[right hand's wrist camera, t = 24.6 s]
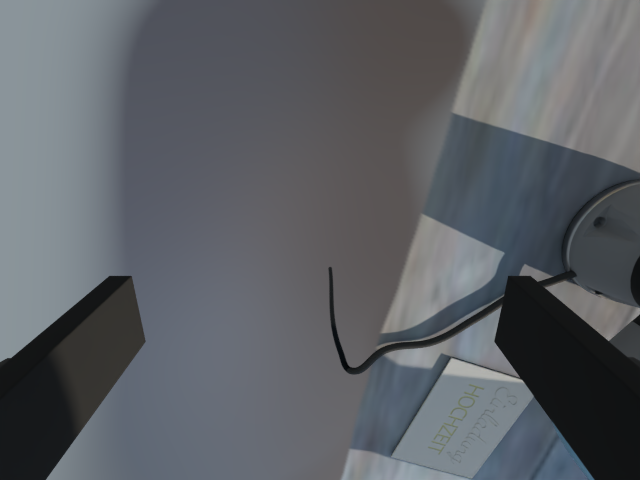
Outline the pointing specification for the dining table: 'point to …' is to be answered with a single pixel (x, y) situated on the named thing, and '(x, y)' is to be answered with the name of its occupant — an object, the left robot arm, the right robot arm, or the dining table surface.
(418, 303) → the dining table surface
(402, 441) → the invitation card
